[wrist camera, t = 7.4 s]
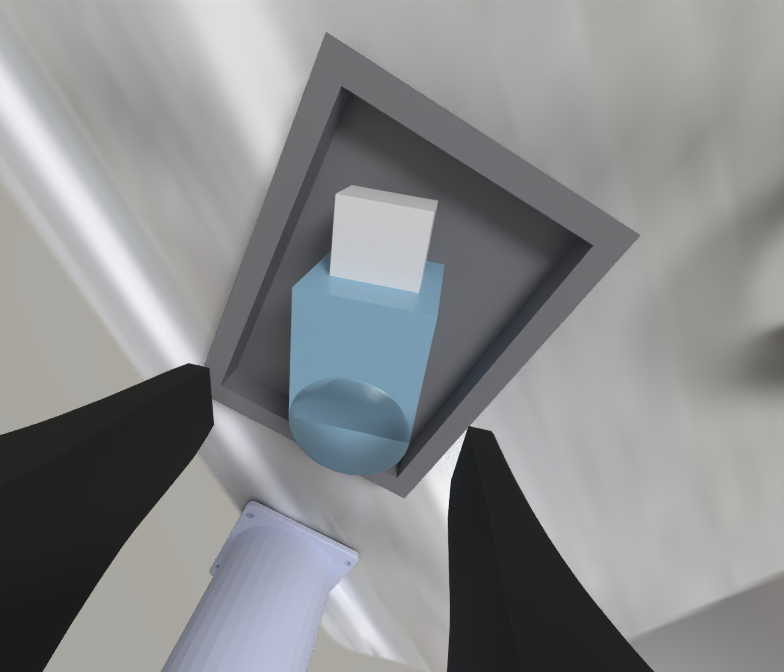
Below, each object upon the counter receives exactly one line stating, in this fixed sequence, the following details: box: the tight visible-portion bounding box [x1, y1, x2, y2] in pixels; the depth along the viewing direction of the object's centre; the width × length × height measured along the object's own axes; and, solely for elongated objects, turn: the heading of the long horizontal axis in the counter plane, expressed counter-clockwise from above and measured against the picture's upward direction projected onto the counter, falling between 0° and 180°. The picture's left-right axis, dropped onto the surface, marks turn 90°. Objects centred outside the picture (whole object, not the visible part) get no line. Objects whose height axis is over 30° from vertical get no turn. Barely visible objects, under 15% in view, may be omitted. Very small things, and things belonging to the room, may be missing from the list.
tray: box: [204, 32, 640, 498], centre depth 17 cm, size 16×12×2 cm
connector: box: [289, 185, 444, 475], centre depth 15 cm, size 10×4×5 cm, turn 172°
